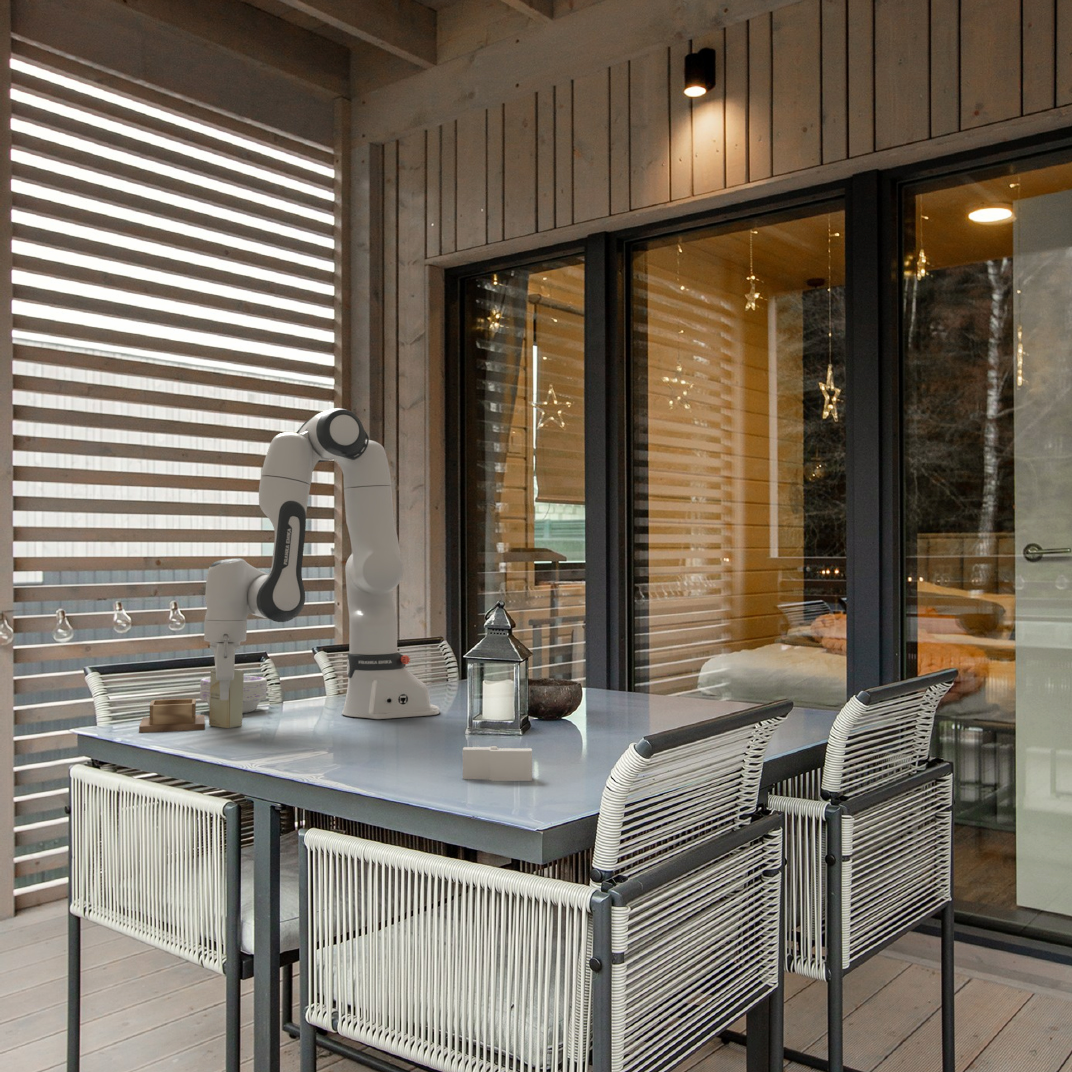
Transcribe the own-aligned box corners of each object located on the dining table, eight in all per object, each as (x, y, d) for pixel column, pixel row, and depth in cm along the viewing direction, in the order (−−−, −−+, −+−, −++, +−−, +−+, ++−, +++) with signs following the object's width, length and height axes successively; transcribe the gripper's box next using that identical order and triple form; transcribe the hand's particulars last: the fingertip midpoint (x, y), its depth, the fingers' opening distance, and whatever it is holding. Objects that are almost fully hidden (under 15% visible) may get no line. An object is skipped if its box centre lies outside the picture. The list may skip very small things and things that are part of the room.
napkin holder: (551, 780, 175) (551, 746, 176) (507, 793, 167) (507, 756, 167) (484, 769, 185) (484, 736, 185) (438, 780, 176) (439, 745, 176)
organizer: (204, 720, 237) (204, 696, 237) (204, 729, 224) (204, 704, 224) (142, 722, 233) (143, 699, 233) (139, 732, 220) (139, 707, 220)
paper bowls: (276, 707, 257) (276, 674, 257) (251, 716, 242) (251, 682, 242) (217, 706, 259) (217, 673, 259) (188, 715, 244) (188, 681, 244)
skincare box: (208, 726, 229) (208, 669, 229) (224, 723, 232) (225, 668, 233) (227, 728, 225) (228, 671, 225) (244, 725, 229) (244, 669, 229)
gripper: (241, 636, 220) (240, 703, 220) (239, 630, 240) (237, 691, 239) (210, 636, 218) (208, 703, 218) (210, 630, 238) (208, 691, 237)
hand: (223, 697), depth 229 cm, fingers open, 8 cm apart
